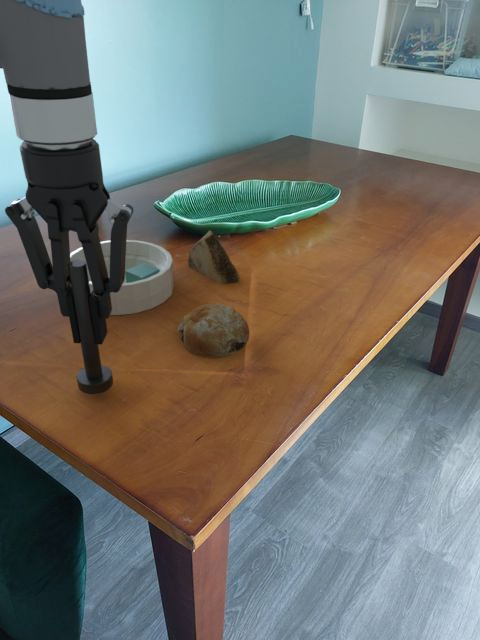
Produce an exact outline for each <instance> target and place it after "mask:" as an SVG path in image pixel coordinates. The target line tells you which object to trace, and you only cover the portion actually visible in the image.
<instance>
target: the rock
mask: <svg viewBox="0 0 480 640" xmlns="http://www.w3.org/2000/svg"><path fill="white" fill-rule="evenodd" d="M187 266H188V267H190V268H192V269H194V270H195V271H197V272H198V273H200V274H202V275H204V276H206V277H207V278H209V279H210V280H212V281H214V282H215V283H216V284H219V285H224V284H235V283H239V282H241V277H240V274H239V272H238V270H237V268H236V267H235V266H236V265H234V264H233V262H232V261H231V259H230V256H229V255H228V253H227V251H226V249H225V248H224V246H223V245H222V243H221V242H220V241H219V240H218V238H217V236H216V235H215V234H214V232H213V231H212V230H208V231H207V232H206V234H204V235H203V236H202V237H201V238H200V239H199V240H198V241H197V242H195V243H194V244H193V246H192V248H190V250H189V252H188V258H187Z"/></svg>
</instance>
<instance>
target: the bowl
mask: <svg viewBox="0 0 480 640" xmlns="http://www.w3.org/2000/svg"><path fill="white" fill-rule="evenodd" d="M100 243H101V247H102V252H103V256H104V260H105V264H106V268H107V272H108V277H110V243H111V239H110V240H103V241H100ZM73 260H83V261H85V262H86V259H85V255H84V251H83V247H82V246H81V247H79V248H76V249H75V250H74V251H72V252H70V261H73ZM141 263H144V264H147V265H149V266H152V267H154V268H157V269H159V273H158V274H155V275H153V276H151V277H149V278H147V279H143V280H139V281H135V282H130V283H126V275H125V280H124V282H123V284H122V286H121V288H120V290H119V291H118V292H117V293H114V292H111V293H110V297H111V304H112V311H111V313H110V315H109V316H122V315H123V316H124V315H132V314H137V313H142V312H146V311H149V310H152V309H154V308H156V307H158V306H161V304H163V303H165V302H166V301H167V300H168V299H169V298H170V297H172V296H173V295H172V294H173V292H174V289H175V283H174V282H175V280H174V261H173V257H172V255H171V253H170V252H169V251H168V250H167V249H165V248H164V247H163V246H160V245H157V244H156V243H153V242H148V241H142V240H136V239H127V240H126V261H125V270H128V269H130V268H132V267H134V266H136V265H139V264H141ZM86 265H87V263H86ZM87 272H88V279H89V285H90V292H92V291H93V286H92V282H91V278H90V274H89V270H88V266H87Z"/></svg>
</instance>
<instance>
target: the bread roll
mask: <svg viewBox="0 0 480 640" xmlns="http://www.w3.org/2000/svg"><path fill="white" fill-rule="evenodd" d="M177 332H178V333H181V335H182V336H181V338H180V339H181V341H182V342H183V346H184V347H185V349H187V351H189V352H191V353H192V354H193V355H194V356H198V357H205V358H206V357H207V358H218V359H220V358H225V357H227V356H232V355H235V354H236V353H237V351H239V350H241V349H242V348H244V347H245V346H246V345H247V344H248V341H249V340H250V328H249V324H248V323H247V320H246V319H245V318H244V316H243V315H242V314H241V313H240V312H238V311H236V309H235V308H234V307H233V306H228V305H226V304H222V303H207V304H202V305H199V306H196V307H195V308H193V309H191V311H190V312H188V313H187V314H186V315H184V316H182V322H180V323H179V324H178V326H177Z"/></svg>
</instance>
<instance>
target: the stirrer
mask: <svg viewBox="0 0 480 640" xmlns="http://www.w3.org/2000/svg"><path fill="white" fill-rule="evenodd" d="M68 270H69V276H70V282H71V288H72V294H73V300H74V306H75V312H76V318H77V324H78V330H79V336H80V342H81V343H80V347H81V348H80V349H81V353H82V358H83V359H82V360H83V365H84V367H83V368H81V369H80V370H79V371H78V372H77V374H76V383H77V389H78V390H79V391H80V392H82V393H84V394H86V395H98V394H103V393H106V392H107V391H108V390H110V389H111V388H112V387H113V384H114V377H113V371H112V369H111V368H110V367H108V366H107V365H102V362H101V353H100V347H99V344H96V342H95V336H94V329H93V323H92V317H91V310H90V304H89V296H90V295H91V292H90V285H89V279H88V272H87V265H86V262H85V261H83V260H73V261H70V262H69V263H68Z"/></svg>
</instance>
